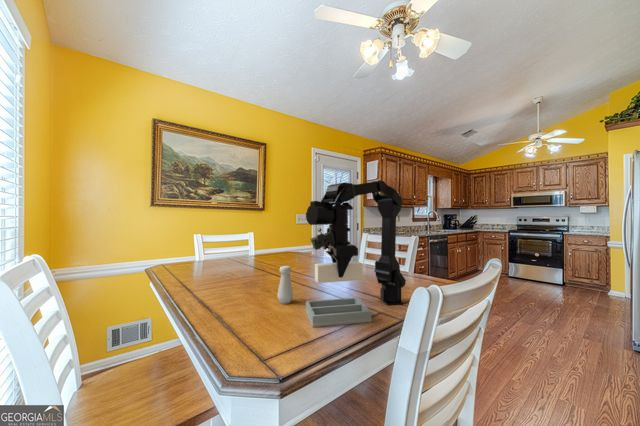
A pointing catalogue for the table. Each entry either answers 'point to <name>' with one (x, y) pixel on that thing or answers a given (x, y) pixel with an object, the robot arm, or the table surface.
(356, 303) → the divided grey tray
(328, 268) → the cream rectangular block
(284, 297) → the salt shaker
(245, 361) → the table surface
